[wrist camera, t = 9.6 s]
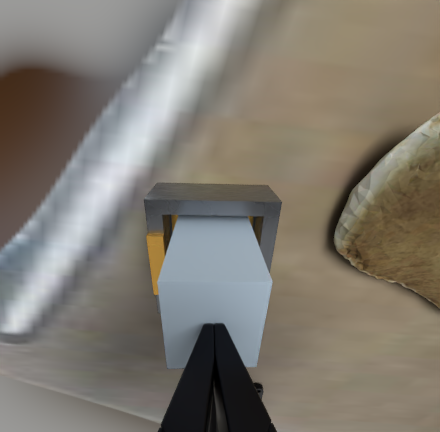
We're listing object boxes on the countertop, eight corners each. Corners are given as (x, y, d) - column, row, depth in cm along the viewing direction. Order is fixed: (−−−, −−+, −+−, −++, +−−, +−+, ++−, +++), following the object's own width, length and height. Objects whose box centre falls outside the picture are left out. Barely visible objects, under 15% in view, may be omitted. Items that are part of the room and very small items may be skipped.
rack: (254, 282, 16) (263, 316, 14) (166, 282, 16) (156, 317, 13) (268, 185, 13) (283, 204, 10) (156, 182, 13) (141, 201, 10)
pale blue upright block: (239, 276, 15) (256, 367, 10) (182, 275, 15) (167, 368, 9) (246, 211, 13) (272, 281, 7) (179, 210, 13) (157, 281, 7)
